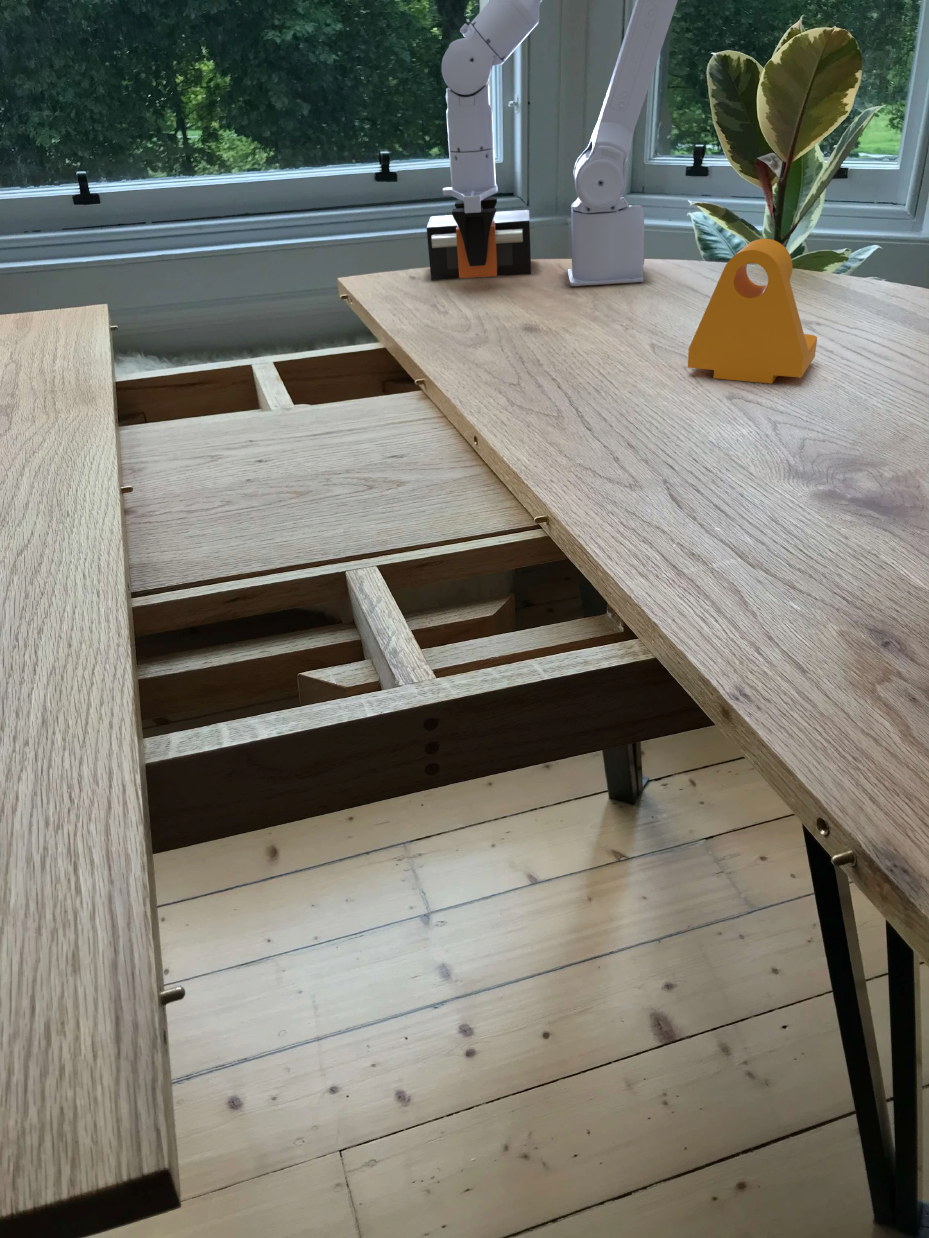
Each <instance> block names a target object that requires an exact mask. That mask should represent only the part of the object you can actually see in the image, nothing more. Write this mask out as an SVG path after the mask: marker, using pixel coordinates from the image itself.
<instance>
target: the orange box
mask: <svg viewBox="0 0 929 1238" xmlns="http://www.w3.org/2000/svg"><path fill="white" fill-rule="evenodd" d="M456 237H457V251H458V266H459V278H460V279H472V278H471V277H475V278H488V277H487V276H491V277H498V276H497V251H496V244H495V220H493V221H492V224H491V227H490V232H489V239H488V251H487V259H486V264H485V265H482V266H470V265H469V262H468V259H467V255H466V250H465V246H464V242H463V238H462V235H461V232H460V229H459V227H458V225H457V227H456Z"/></svg>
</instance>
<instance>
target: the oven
mask: <svg viewBox="0 0 929 1238" xmlns="http://www.w3.org/2000/svg"><path fill="white" fill-rule="evenodd" d="M493 220H495V244H496V251H497V276H496V277H503V276H506V277H507V276H519V275H532V257H531V256H532V255H531V226H530V225H531V224H530V210H529V209H522V210H521V209H520V210H506V211H504V210H503V211H496V213H495V216H494V218H493ZM456 227H457V223H456V221H455V220H454V218H453V216H452V214H449V215H447V214H445V215H433V216H430V217H429V220H428V223H427V226H426V239H427V249H428V250H427V251H428V260H429V270H430V272H429V273H430V280H431V281H440V280H441V281H443V280H455V279H457V280H458V279H459V280H460V279H461V278H459V266H458V251H457V237H456ZM489 277H490V278H491V277H492V276H487V277H486V278H489ZM473 278H475V279H476V277H471V278H470V279H473Z"/></svg>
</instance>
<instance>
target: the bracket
mask: <svg viewBox="0 0 929 1238" xmlns="http://www.w3.org/2000/svg"><path fill="white" fill-rule="evenodd" d="M748 264H756V265H758V266H760V267H762V268H763V270H764V271H765V273H766V275H767V284H765V285H759V284H756V283H755V282H753V281H752V280H751V279H750V277H749V275H748V273H747V267H748ZM793 266H794V265H793V260H792V256H791V254H790V252H789V250H788V249H787V247H785V246H784V245H783V244H782V243H781V242H779V241H777V240H775V239H771V238H759V239H755V240H753V241H750V242H748V243H747V244H746V245H745V246H743V247H742V248H741V249H740V250H739V251H737V252H736V253H735V254H734V256H732V257H731V258H730V259H729V260H728V262H727V263H726V264H725V266H724V268H723V270H722V272H721V274H720V275H719V276H720V277H719V279H718V281H717V284H716V286H715V288H714V290H713V292H712V295H711V297H710V299H709V302H708V304H707V306H706V309H705V310H704V313H703V315H702V318H701V320H700V322H699V324H698V327H697V329H696V331H695V334H694V336H693V338H692V340H691V343H690V345H689V347H688V355H687V368H688V369H700V370H710V371H713V376H712V377H713V379H718V380H727V381H739V382H751V383H761V384H770V385H772V384H773V383H774V382H775V380H776V379H777V377H790V378H792V377H793V378H803V376H804V374H805V373H806V371H807V369H808V368H809V366H811V363H812V362H813V361H814V359H815V358H816V351H817V343H818V336H817V335H814V334H809V333H804V329H803V326H802V321H801V318H800V314H799V310H798V306H797V303H796V300H795V295H794V292H793V288H792V285H791V281H790V280H791V277H792V274H793Z"/></svg>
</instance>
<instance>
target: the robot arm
mask: <svg viewBox="0 0 929 1238" xmlns="http://www.w3.org/2000/svg"><path fill="white" fill-rule="evenodd" d="M678 1H679V0H635V2H634V6H633V8H632V11H631V15H630V18H629V21H628V24H627V28H626V30H625V34H624V37H623V39H622V43H621V46H620V49H619V52H618V56H617V59H616V62H615V66H614V68H613V71H612V75H611V77H610V82H609V85H608V88H607V91H606V95H605V97H604V100H603V104H602V107H601V110H600V113H599V116H598V119H597V121H596V124H595V127H594V129H593V132H592V134H591V137H590V140H589V142H588V145H587V147H586V148H585V149H584V150H583V151H582V153H581V154H580V155H579V156H578V157H577V159H576V161H575V164H574V167H573V180H574V181H573V182H574V188H575V194H576V195H577V198H576V200H575V201H574V202H572V203H571V205H570V209H571V210H570V217H571V218H570V221H571V223H570V224H571V226H570V227H571V228H570V229H571V268H567V275H568V281H569V285H570V286H571V287H580V286H582V287H583V286H598V285H599V286H600V285H611V284H613V285H614V284H631V283H643V282H644V265H645V215H644V213H645V212H644V207H643V205H629V203H628V199H627V198H625V197H623V195H624V194H625V192H626V191H625V190H626V187H627V172H626V166H627V161H628V157H629V154H630V151H631V146H632V141H633V136H634V132H635V129H636V126H637V123H638V120H639V117H640V114H641V111H642V108H643V106H644V102H645V99H646V96H647V93H648V91H649V87H650V84H651V81H652V78H653V76H654V73H655V69H656V67H657V63H658V60H659V58H660V54H661V52H662V49H663V46H664V42H665V40H666V37H667V33H668V31H669V29H670V24H671V21H672V18H673V16H674V12H675V10H676V7H677V3H678ZM542 2H543V0H489V1H488V2H487V3H486V4H485V5H484V7H483V8H481V10H480V11H479V13H477V15H476V16H475V17H474V19H473V20H472V21H471V22H470V23H469V24H467V23H464V24H463V25H462V26H461V28H460V29H459V32H460V33H461V35H462V36H463V37H464V38H462V37H461V38H458V39H455V40H453V41H452V42H451V43H449V45H448V48H447V49H446V50H445V53H444V54H443V56H442V60H441V75H442V78H443V80H444V83H445V85H446V87H447V88H446V89H445V90H446V93H445V101H446V104H447V109H446V112H445V113H446V127H447V141H448V143H447V144H448V154H449V169H450V179H451V180H450V181H451V186H447V187H443V188H442V195H443V196H452V197H453V198H456V199H457V200H458V201H455V202H454V208H452V209H451V215H452V216H453V218H454V220H455V221H456V223H457V225H458V227H459V229H460V232H461V235H462V238H463V242H464V246H465V250H466V255H467V259H468V262H469V265H470V266H482V265H485V264H486V259H487V251H488V239H489V232H490V227H491V224H492V221H493V218H494V216H495V213H496V212H497V207H496V206H497V203H498V197H496V196H493V195H495V194H497V193H498V191H499V189H498V184H497V181H496V180H497V179H496V177H497V175H496V159H495V139H494V138H495V137H494V136H495V135H494V119H493V106H492V105H491V103H490V102H491V101H490V100H491V99H490V98H491V97H490V84H489V83H488V82H489V81H490V79H491V77H492V72H493V67H494V66H502V65H503V64H504V63H505V62H506V61H507V60H508V58H509V57H510V56H511V55H512V54H513V53H514V52H515V50H516V49H517V48H518V47H519V46H520V45H521V44H522V42H523V41H525V39H526V38H527V37H528V36H529V35H530V33H531V32H532V31H533V30H534V29H535V28H536V27H537V26H538V24H539V23H540V6H541V3H542Z"/></svg>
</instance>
